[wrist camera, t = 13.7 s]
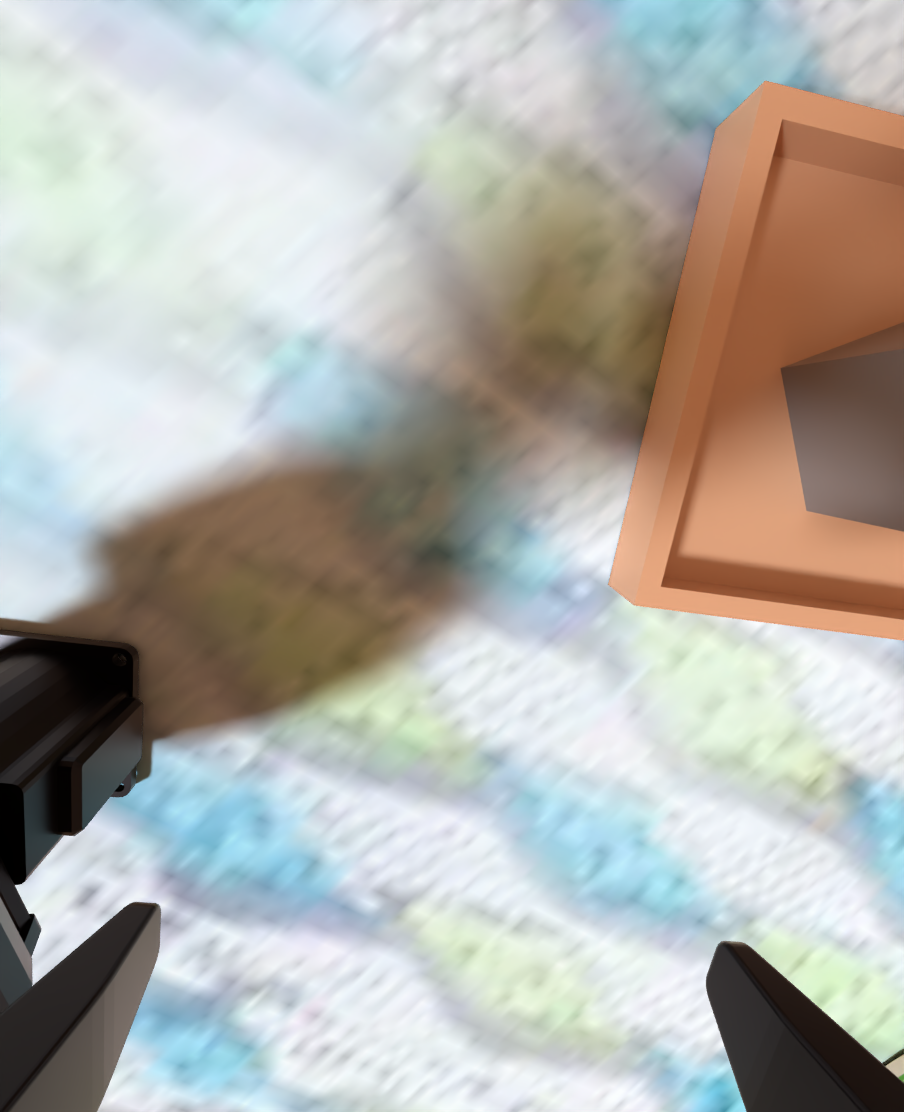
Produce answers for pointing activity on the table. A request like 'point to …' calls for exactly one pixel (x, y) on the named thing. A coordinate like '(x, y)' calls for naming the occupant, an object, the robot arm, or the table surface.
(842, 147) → the tray
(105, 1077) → the robot arm
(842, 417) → the beige rectangular block
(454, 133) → the table surface
